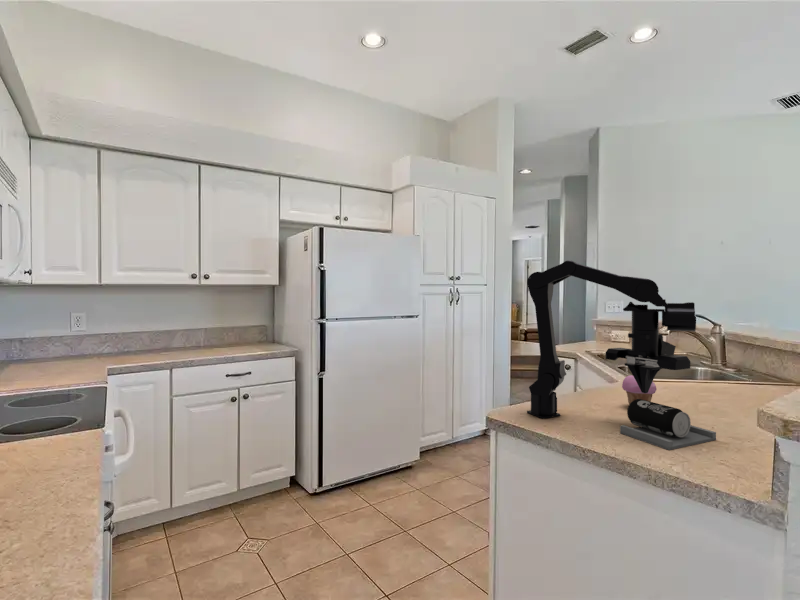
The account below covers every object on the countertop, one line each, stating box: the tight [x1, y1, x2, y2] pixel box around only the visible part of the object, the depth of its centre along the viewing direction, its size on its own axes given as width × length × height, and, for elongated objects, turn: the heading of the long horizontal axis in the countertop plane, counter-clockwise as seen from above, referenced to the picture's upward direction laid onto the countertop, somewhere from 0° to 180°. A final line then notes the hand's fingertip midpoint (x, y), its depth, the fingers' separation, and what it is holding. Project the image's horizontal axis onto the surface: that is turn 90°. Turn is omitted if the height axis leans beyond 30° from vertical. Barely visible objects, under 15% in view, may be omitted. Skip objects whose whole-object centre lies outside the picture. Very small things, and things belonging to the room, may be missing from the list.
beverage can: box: [626, 399, 691, 437], centre depth 100 cm, size 7×7×12 cm
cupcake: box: [621, 374, 657, 405], centre depth 122 cm, size 9×9×10 cm
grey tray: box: [619, 424, 717, 451], centre depth 98 cm, size 16×12×2 cm
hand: (644, 392), depth 103 cm, fingers closed
